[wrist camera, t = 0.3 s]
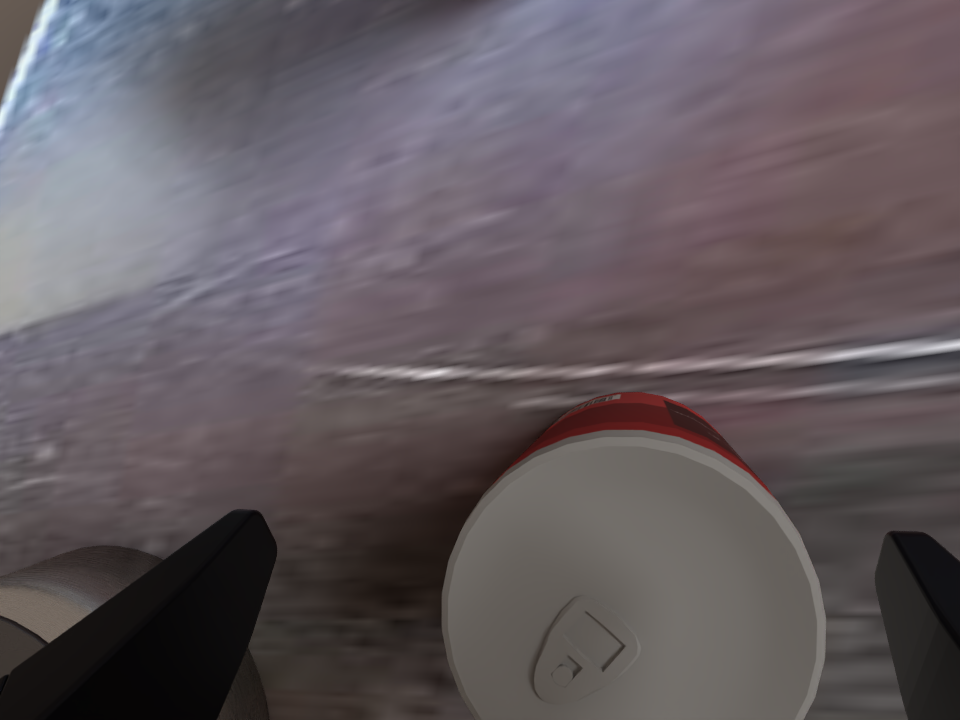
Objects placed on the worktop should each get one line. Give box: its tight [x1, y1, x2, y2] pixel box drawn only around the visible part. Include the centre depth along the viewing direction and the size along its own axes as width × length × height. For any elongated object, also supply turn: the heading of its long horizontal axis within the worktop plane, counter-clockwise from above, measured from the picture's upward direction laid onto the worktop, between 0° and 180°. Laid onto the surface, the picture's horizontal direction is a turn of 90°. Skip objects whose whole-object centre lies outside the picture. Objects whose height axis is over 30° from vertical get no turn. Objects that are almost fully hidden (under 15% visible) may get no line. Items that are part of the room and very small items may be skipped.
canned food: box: [442, 392, 826, 720], centre depth 18 cm, size 8×8×11 cm
